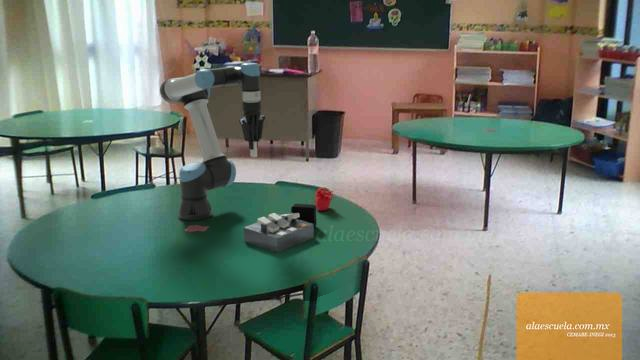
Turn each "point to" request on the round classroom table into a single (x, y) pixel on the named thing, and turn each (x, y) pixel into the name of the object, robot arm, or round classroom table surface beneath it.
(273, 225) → the rocker near
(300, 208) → the electronic device
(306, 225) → the console
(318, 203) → the heart organ
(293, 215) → the rocker far
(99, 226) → the round classroom table surface
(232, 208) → the round classroom table surface
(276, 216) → the rocker mid
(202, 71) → the robot arm
